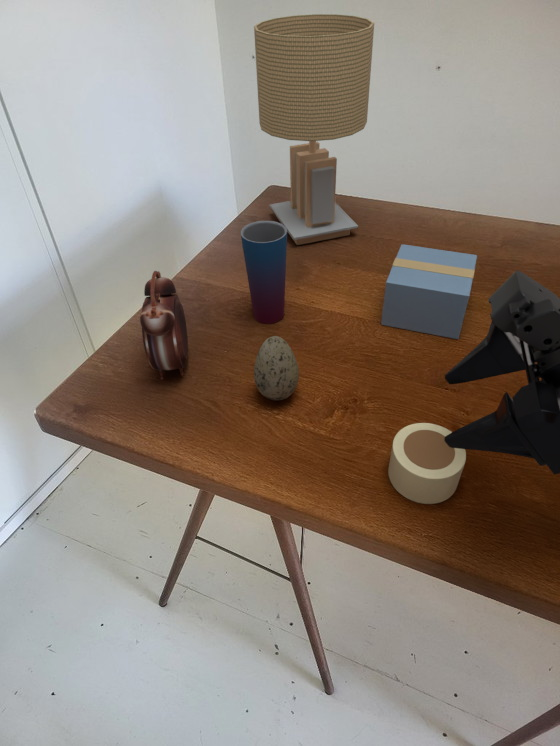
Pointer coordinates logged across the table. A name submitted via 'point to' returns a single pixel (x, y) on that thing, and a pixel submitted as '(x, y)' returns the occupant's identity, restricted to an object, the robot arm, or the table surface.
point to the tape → (425, 463)
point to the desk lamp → (313, 108)
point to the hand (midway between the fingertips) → (446, 409)
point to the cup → (266, 268)
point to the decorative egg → (276, 369)
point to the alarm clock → (163, 325)
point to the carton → (428, 290)
